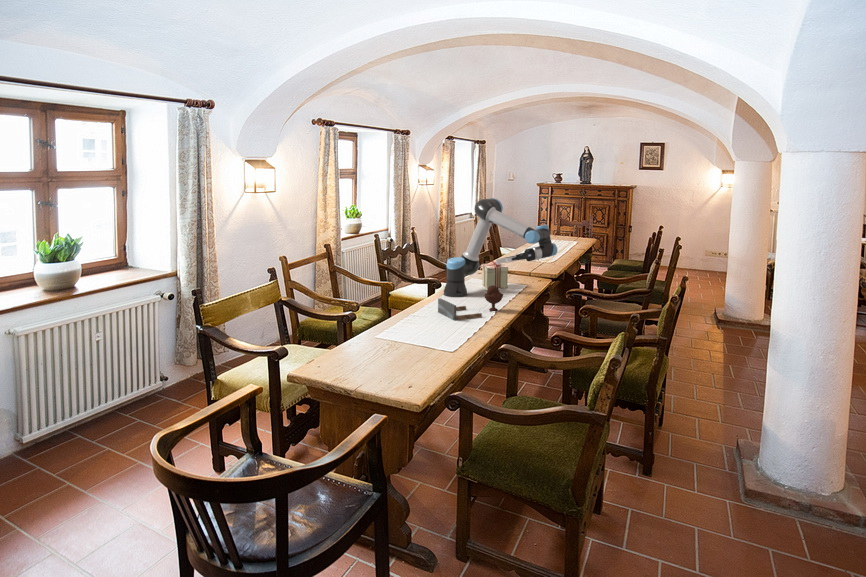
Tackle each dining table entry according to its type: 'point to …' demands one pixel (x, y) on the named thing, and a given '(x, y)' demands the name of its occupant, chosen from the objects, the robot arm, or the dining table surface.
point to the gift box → (494, 275)
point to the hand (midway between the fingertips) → (501, 261)
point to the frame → (453, 310)
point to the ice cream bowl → (493, 296)
